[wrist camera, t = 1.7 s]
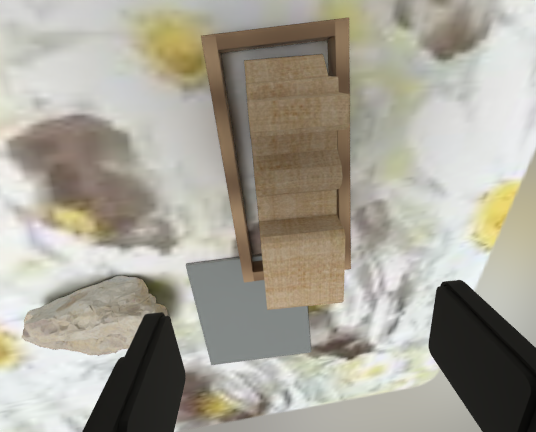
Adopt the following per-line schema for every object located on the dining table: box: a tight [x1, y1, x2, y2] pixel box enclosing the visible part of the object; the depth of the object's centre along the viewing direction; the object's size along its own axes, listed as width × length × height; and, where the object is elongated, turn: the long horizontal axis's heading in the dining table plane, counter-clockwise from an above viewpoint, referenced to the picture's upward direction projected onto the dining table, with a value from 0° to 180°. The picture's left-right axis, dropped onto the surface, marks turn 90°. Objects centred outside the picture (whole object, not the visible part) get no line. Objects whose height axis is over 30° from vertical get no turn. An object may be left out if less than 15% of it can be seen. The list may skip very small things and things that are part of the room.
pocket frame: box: [201, 18, 351, 282], centre depth 27 cm, size 21×10×2 cm, turn 7°
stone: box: [22, 276, 168, 356], centre depth 30 cm, size 8×12×10 cm, turn 96°
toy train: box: [244, 54, 350, 310], centre depth 23 cm, size 6×17×10 cm, turn 4°
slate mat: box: [186, 254, 311, 365], centre depth 34 cm, size 14×12×1 cm
